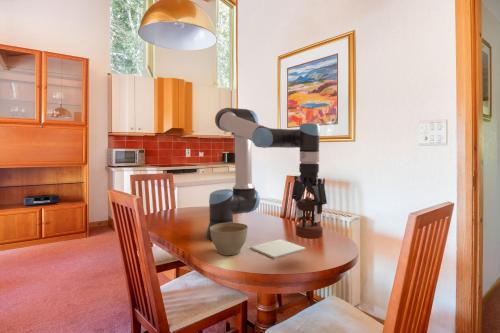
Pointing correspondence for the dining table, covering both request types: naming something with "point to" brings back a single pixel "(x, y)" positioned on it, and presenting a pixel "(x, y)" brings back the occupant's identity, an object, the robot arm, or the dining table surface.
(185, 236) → the dining table surface
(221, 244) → the planter bowl
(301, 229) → the music box
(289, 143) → the robot arm
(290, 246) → the board
